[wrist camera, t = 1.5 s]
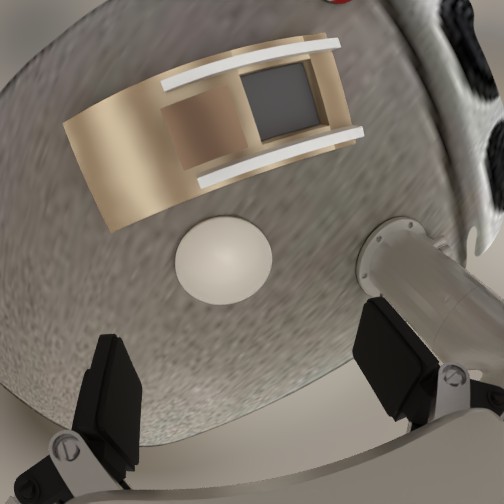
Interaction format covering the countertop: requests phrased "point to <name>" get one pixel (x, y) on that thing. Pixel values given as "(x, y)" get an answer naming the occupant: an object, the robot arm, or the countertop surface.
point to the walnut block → (204, 127)
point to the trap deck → (249, 113)
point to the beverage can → (339, 1)
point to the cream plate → (223, 260)
